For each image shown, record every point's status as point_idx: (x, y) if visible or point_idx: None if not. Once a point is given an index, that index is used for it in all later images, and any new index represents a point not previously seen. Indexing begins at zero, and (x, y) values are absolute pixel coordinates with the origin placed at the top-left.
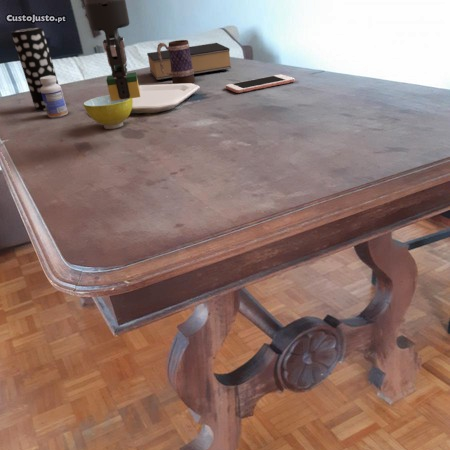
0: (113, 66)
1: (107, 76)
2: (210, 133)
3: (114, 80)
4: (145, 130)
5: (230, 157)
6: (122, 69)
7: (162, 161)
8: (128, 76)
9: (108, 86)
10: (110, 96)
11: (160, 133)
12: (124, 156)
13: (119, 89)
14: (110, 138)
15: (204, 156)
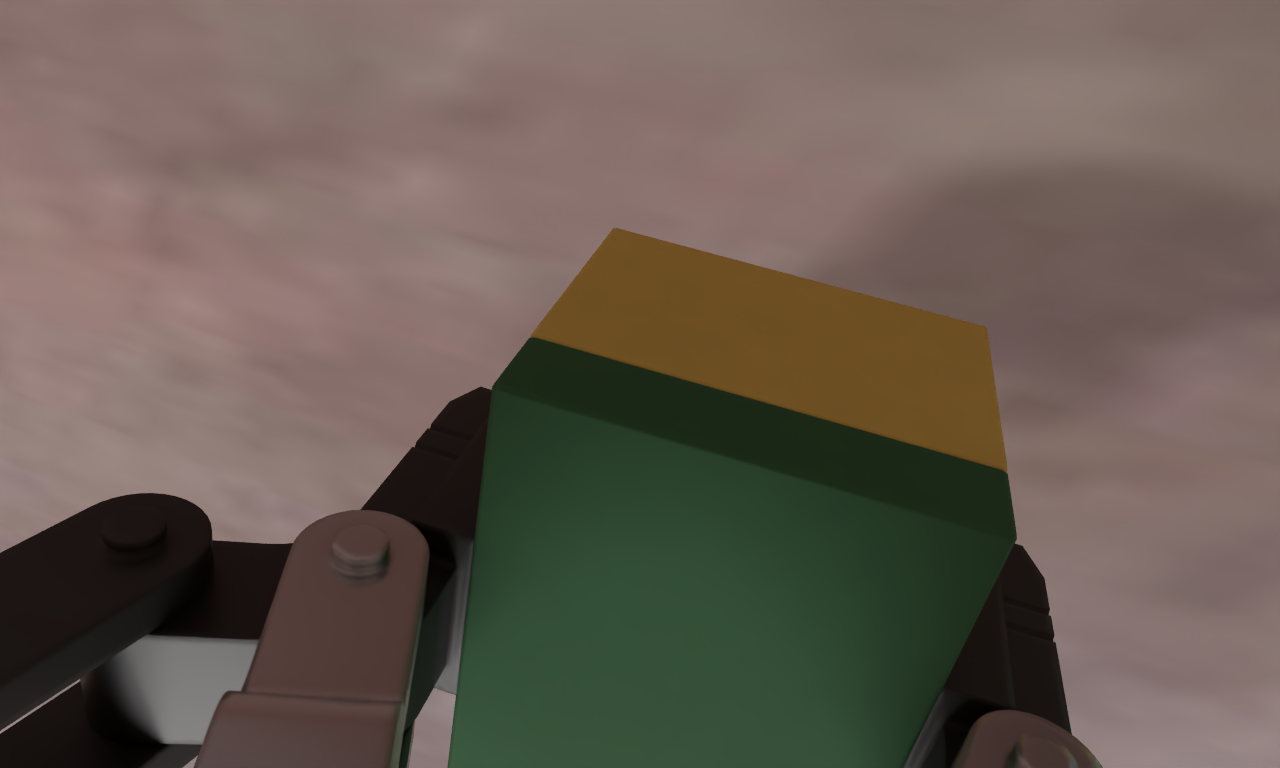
0: (32, 692)
1: (979, 529)
2: None
3: (478, 509)
4: (1062, 418)
5: None
6: (17, 732)
7: (117, 260)
8: (514, 748)
9: (534, 338)
10: (591, 260)
11: None
12: (355, 22)
13: (418, 444)
14: (1110, 10)
15: (121, 494)
